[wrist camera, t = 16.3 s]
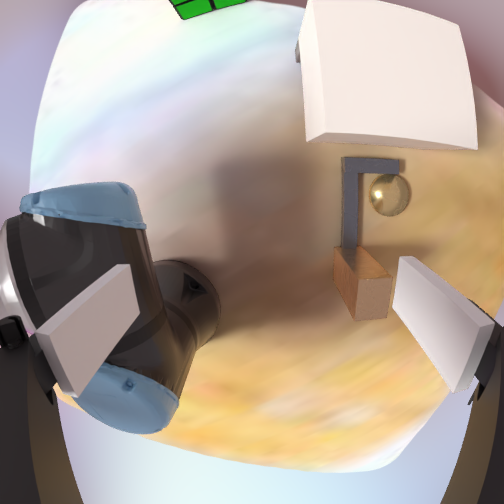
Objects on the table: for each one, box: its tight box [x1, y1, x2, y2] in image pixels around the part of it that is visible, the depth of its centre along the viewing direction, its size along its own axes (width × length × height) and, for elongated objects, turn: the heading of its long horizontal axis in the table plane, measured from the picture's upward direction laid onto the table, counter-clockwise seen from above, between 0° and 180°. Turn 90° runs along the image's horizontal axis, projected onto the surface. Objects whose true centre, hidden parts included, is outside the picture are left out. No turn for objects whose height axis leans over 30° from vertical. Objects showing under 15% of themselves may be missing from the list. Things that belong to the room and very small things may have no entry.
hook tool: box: [333, 157, 399, 321], centre depth 33 cm, size 18×9×12 cm, turn 3°
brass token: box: [369, 174, 408, 216], centre depth 37 cm, size 6×6×1 cm
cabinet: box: [295, 0, 478, 150], centre depth 26 cm, size 14×16×16 cm
